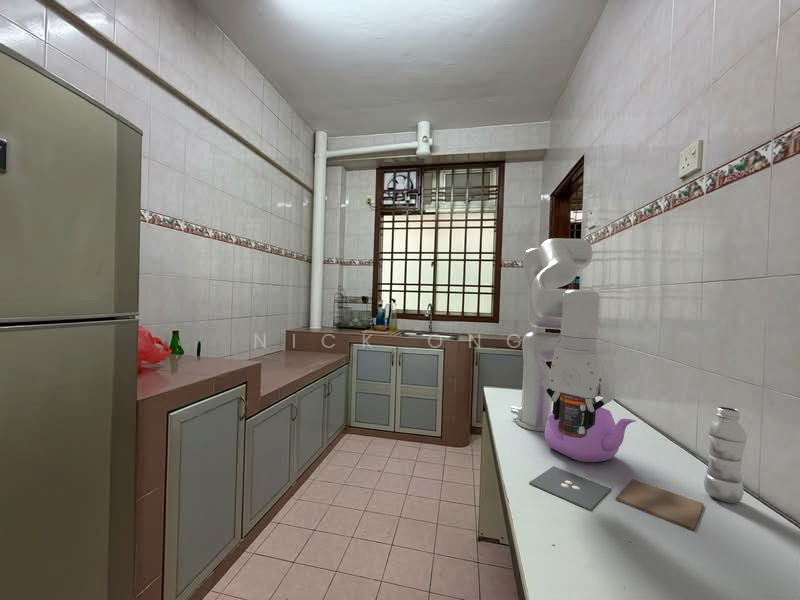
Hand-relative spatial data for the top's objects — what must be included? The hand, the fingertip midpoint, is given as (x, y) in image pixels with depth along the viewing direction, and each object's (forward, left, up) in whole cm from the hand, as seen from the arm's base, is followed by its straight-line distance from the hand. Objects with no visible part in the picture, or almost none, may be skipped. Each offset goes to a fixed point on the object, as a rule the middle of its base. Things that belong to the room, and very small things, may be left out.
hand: (572, 422), depth 81 cm
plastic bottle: (+24, +23, -15) cm, 36 cm away
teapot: (-5, +22, -15) cm, 27 cm away
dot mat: (0, 0, -14) cm, 14 cm away
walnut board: (+15, +9, -14) cm, 23 cm away
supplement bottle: (0, 0, -3) cm, 3 cm away
